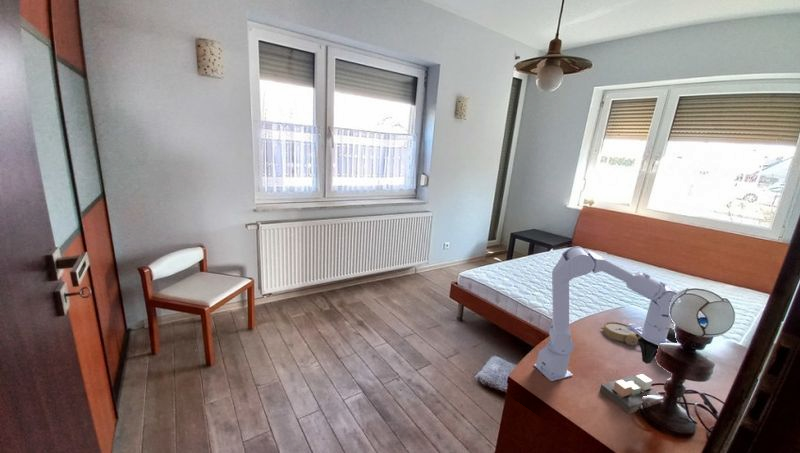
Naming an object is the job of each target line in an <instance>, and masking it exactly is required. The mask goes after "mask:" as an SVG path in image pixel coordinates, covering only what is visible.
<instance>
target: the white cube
mask: <svg viewBox="0 0 800 453" xmlns="http://www.w3.org/2000/svg"><path fill="white" fill-rule="evenodd" d="M634 377H635V381H634V383H635V384H637V385H638V386H640V387H641V389H642V390H643V391H644V390H647V389H650V388H651V389H652V384H653V380H652V378H650V377H648V376H646V375H645V374H643V373H640V374H637V375H635V376H634Z"/></svg>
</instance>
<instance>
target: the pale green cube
mask: <svg viewBox="0 0 800 453" xmlns="http://www.w3.org/2000/svg"><path fill="white" fill-rule="evenodd" d="M626 383H628V384H629V385H631V386H632V388H631V392H630V394H632V395H633V396H634V395H637V394H640V390H641V387H640V386H638V385H637V384H635V383H634V382H633V381H629V382H626Z"/></svg>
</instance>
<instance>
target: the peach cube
mask: <svg viewBox="0 0 800 453" xmlns="http://www.w3.org/2000/svg"><path fill="white" fill-rule="evenodd" d="M617 380H618V379H617ZM614 381H615V380H614ZM631 388H632V386H631V385H629V384H628V383H626V382H625V381H624V380H618V381H615V384H614V388H613V390H614V391H616V392H617V393H618V394H619V395H621V396H622V397H624V396H627V395H630V392H631Z"/></svg>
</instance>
